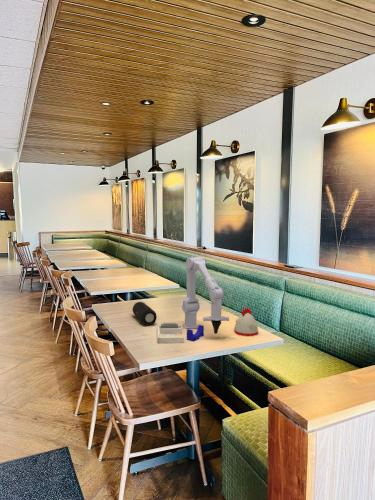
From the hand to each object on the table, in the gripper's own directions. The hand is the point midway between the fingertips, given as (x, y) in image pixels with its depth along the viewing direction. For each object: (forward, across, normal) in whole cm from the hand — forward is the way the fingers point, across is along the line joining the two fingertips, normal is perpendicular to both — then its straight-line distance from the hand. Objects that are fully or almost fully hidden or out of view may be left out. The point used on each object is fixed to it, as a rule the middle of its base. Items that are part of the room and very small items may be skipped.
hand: (215, 333), depth 203 cm
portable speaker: (+3, -41, +35) cm, 54 cm away
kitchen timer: (+3, +20, +9) cm, 22 cm away
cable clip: (+3, -11, +1) cm, 11 cm away
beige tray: (+3, -26, +4) cm, 26 cm away
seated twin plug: (+3, -26, +11) cm, 28 cm away
